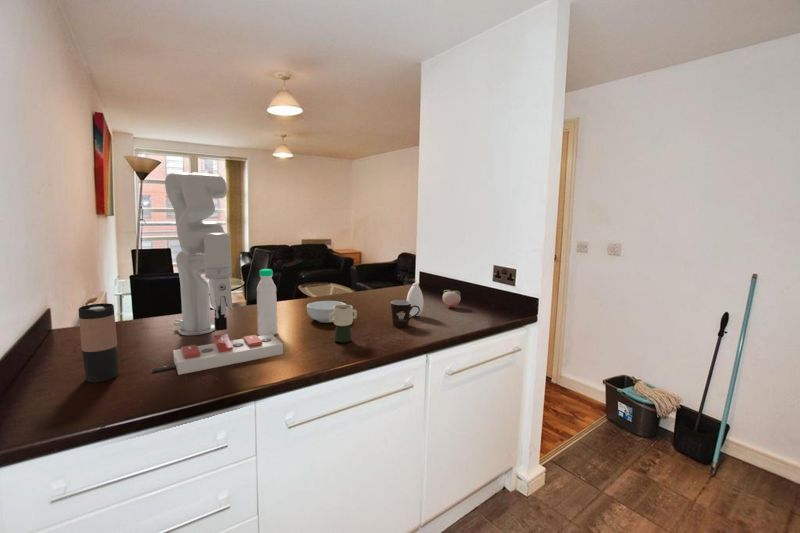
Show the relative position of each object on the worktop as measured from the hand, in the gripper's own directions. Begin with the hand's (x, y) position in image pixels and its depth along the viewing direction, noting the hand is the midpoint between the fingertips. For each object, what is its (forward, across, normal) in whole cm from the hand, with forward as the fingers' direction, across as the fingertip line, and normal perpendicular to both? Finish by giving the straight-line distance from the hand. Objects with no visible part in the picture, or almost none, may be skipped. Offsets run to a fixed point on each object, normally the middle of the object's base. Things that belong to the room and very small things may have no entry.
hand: (221, 329), depth 120 cm
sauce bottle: (+9, +6, -83) cm, 84 cm away
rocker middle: (+4, -2, 0) cm, 5 cm away
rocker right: (+5, -2, -9) cm, 11 cm away
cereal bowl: (+9, +21, -46) cm, 52 cm away
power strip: (+9, -2, +1) cm, 9 cm away
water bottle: (+9, +15, -19) cm, 26 cm away
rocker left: (+5, -2, +9) cm, 11 cm away
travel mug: (+9, +2, +30) cm, 32 cm away
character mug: (+9, -7, -39) cm, 41 cm away
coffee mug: (+9, -4, -70) cm, 70 cm away
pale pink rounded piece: (+9, +9, -109) cm, 110 cm away
